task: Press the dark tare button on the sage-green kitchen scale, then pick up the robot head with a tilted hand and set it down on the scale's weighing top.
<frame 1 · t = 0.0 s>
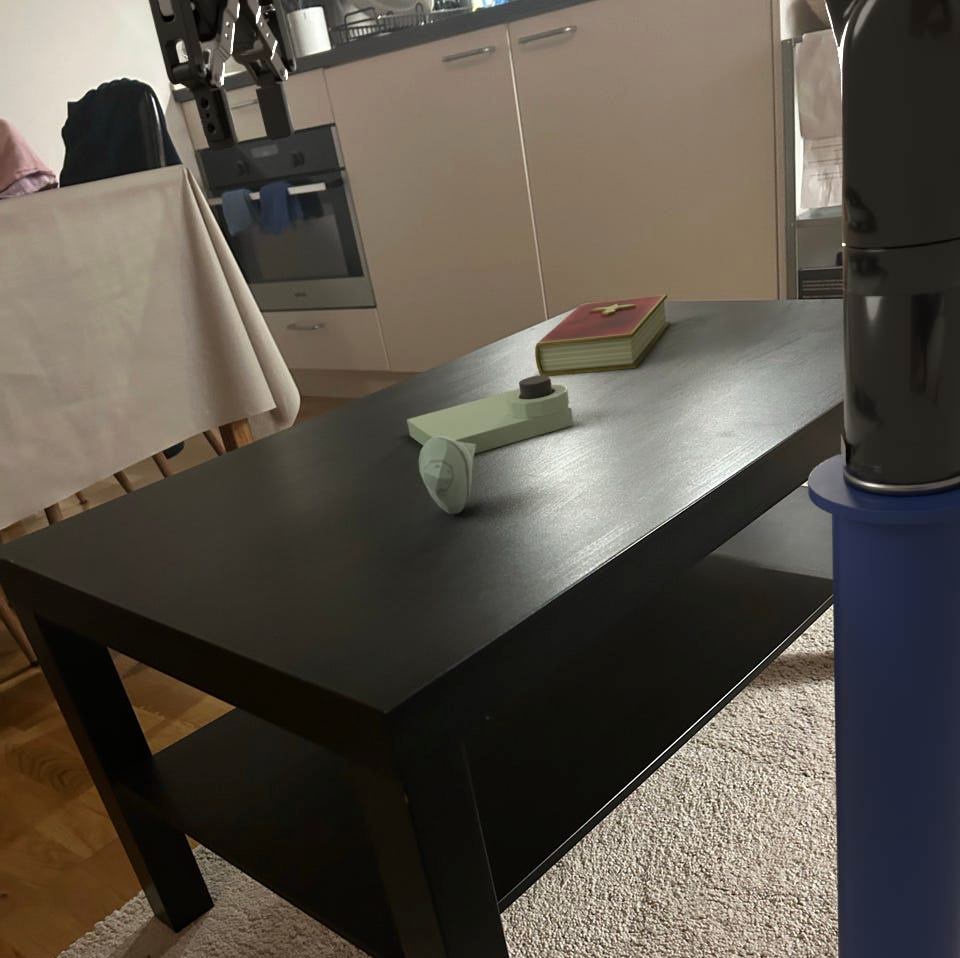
hand: (254, 143, 77), 30 cm above the table, tool pointing down, fingers open, 8 cm apart
tare button: (535, 388, 102), point 4 cm above the table, slide at 0.1 cm
hardcover book: (607, 350, 129), on the table
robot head: (454, 515, 87), on the table
scale: (489, 431, 106), on the table
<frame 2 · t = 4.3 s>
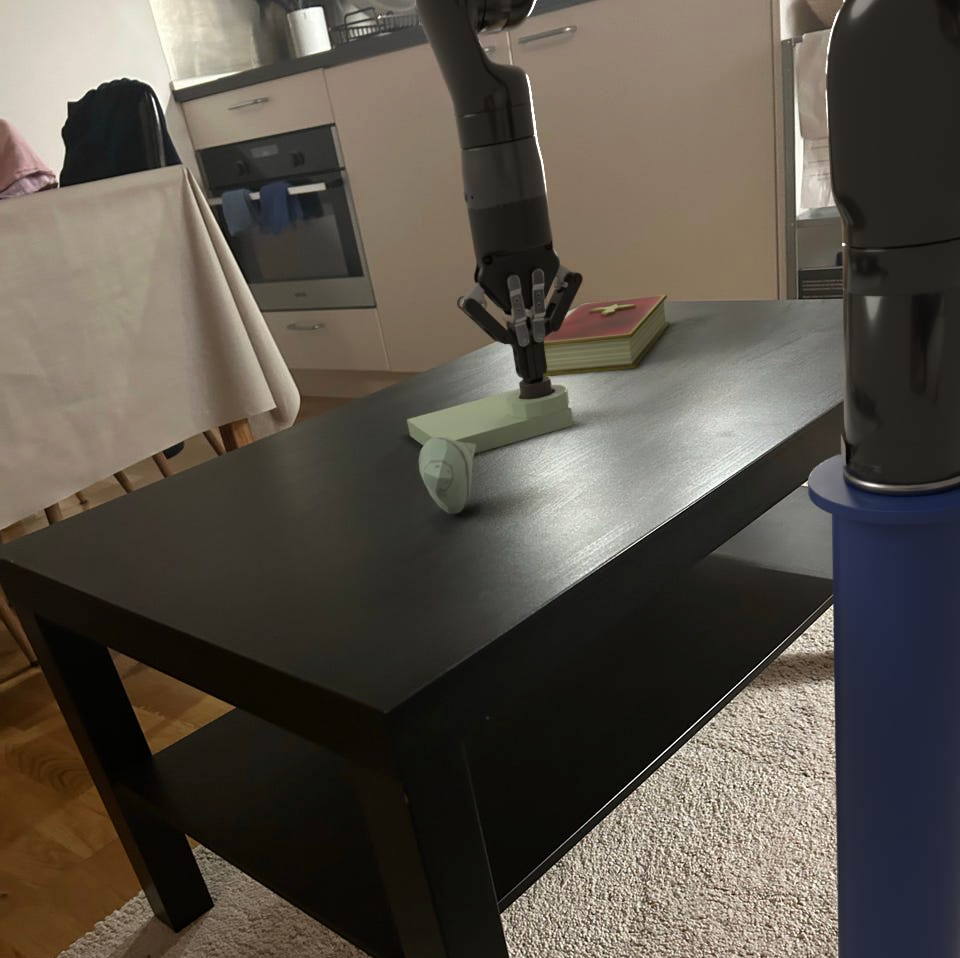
hand: (533, 380, 102), 5 cm above the table, tool pointing down, fingers closed
tare button: (535, 388, 102), point 4 cm above the table, slide at 0.1 cm, touching gripper
everything else where it was.
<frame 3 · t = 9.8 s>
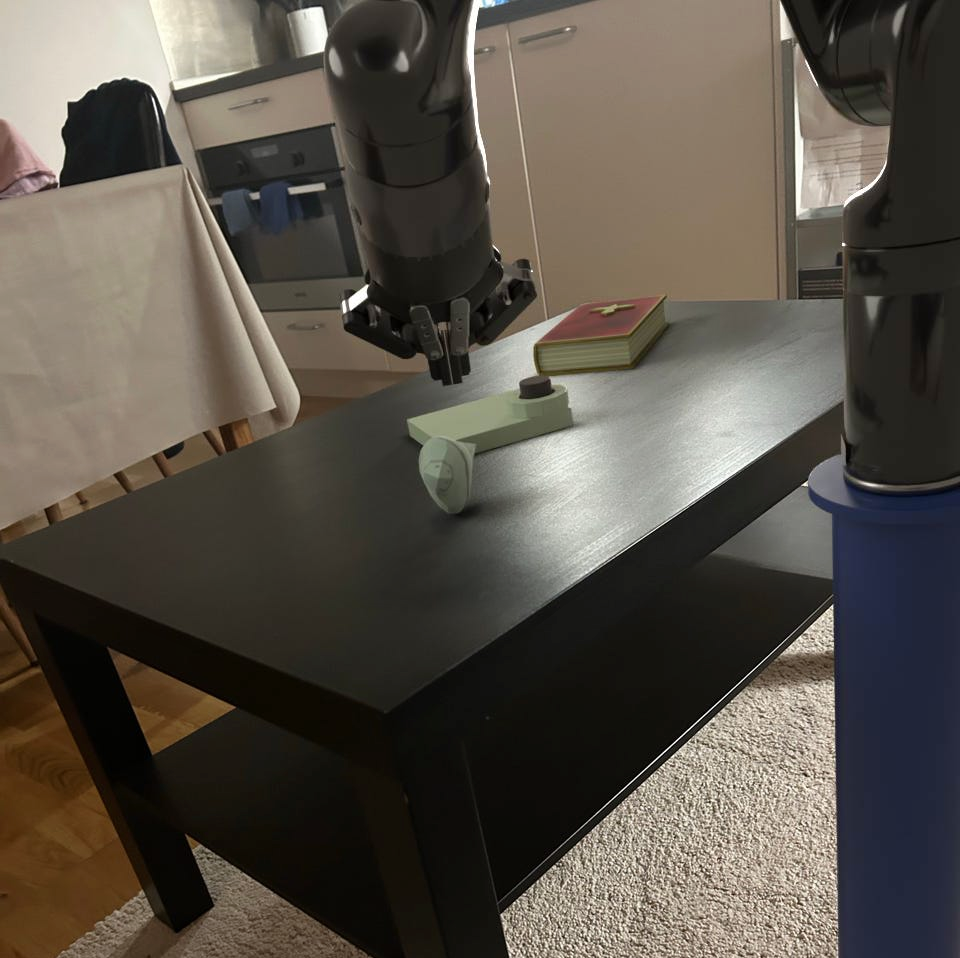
hand: (450, 374, 72), 14 cm above the table, tool tilted 45°, fingers closed
tare button: (535, 388, 102), point 4 cm above the table, slide at 0.1 cm
everything else where it was.
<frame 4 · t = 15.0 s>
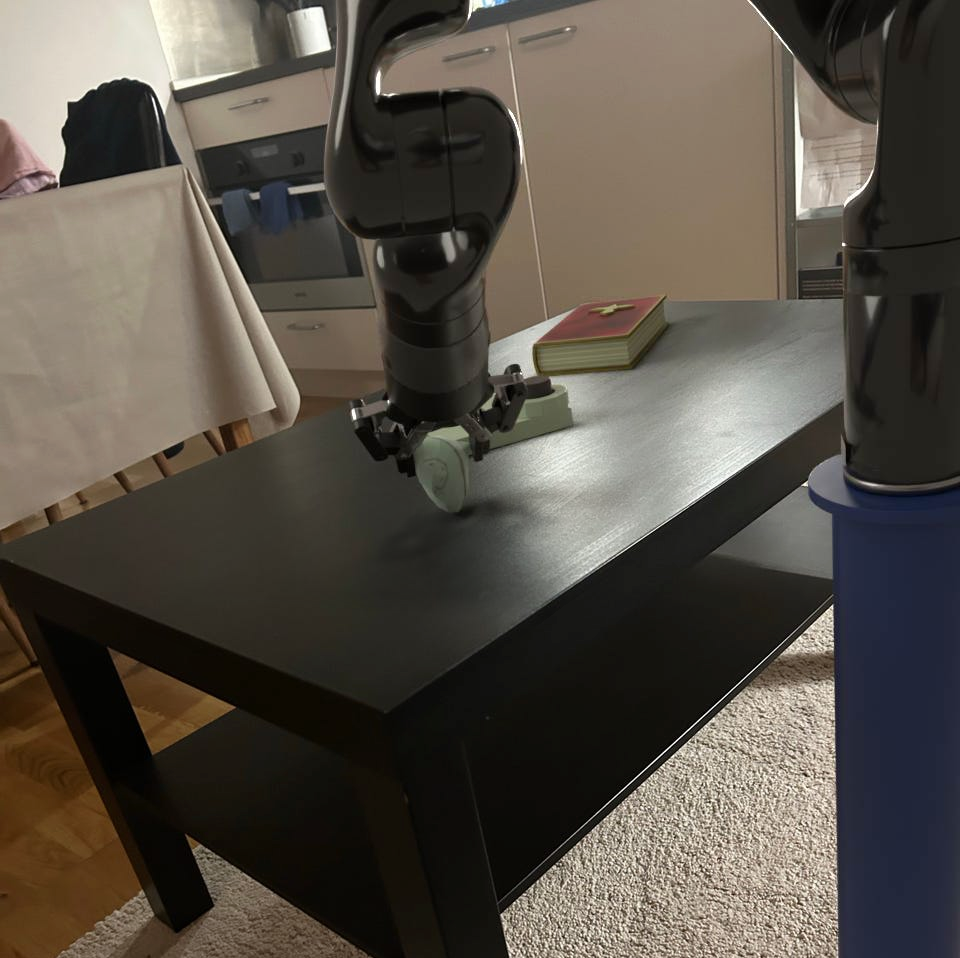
hand: (442, 459, 86), 4 cm above the table, tool tilted 45°, fingers closed on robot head, 5 cm apart
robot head: (454, 514, 87), on the table, touching gripper
everything else where it was.
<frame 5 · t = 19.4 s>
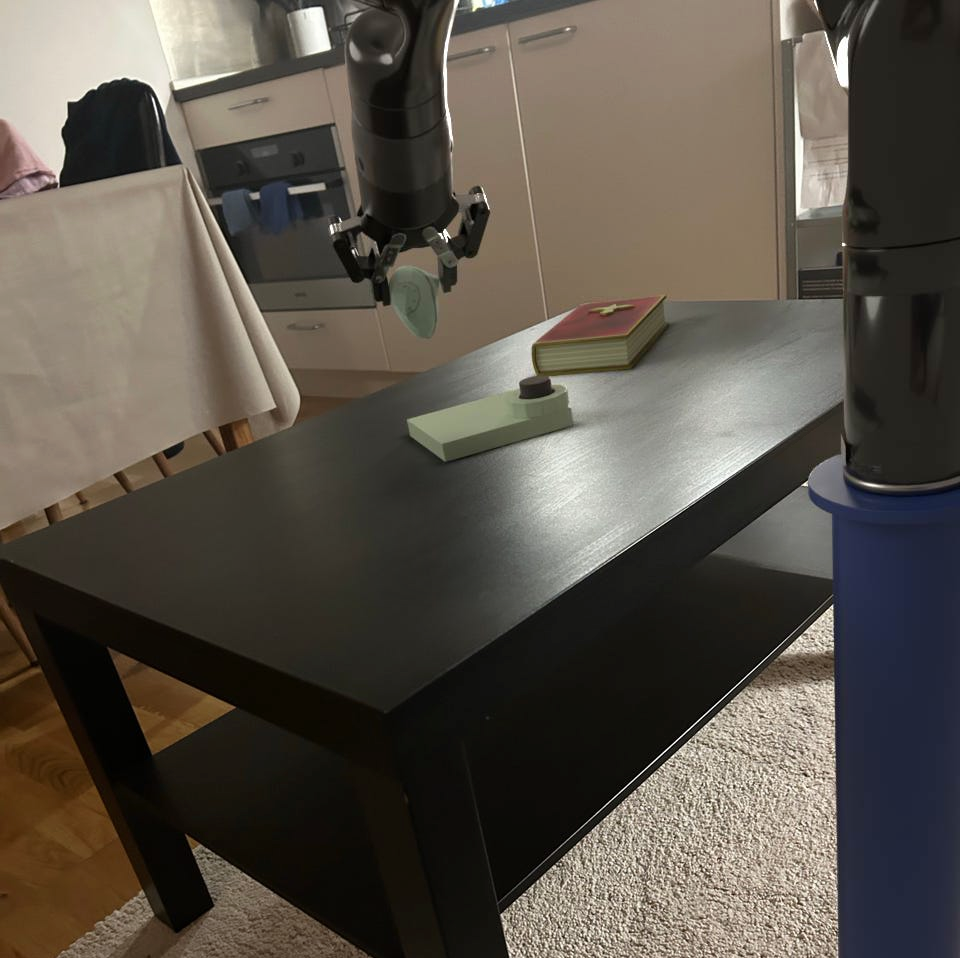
hand: (414, 291, 94), 16 cm above the table, tool tilted 45°, fingers closed on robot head, 5 cm apart
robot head: (426, 342, 94), point 12 cm above the table, touching gripper
everything else where it was.
when the fingers open (6 cm above the table, at t = 23.7 s): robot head stays where it is, resting on scale.
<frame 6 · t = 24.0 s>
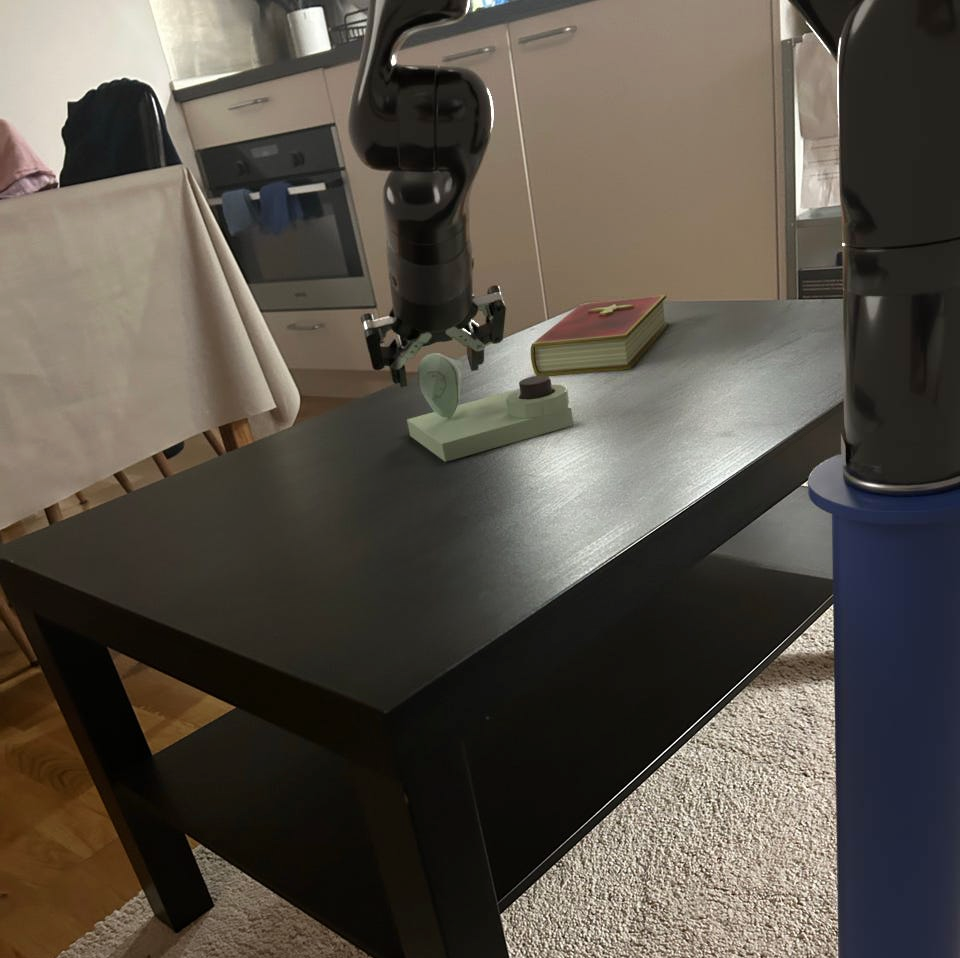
hand: (437, 371, 106), 6 cm above the table, tool tilted 45°, fingers open, 7 cm apart
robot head: (446, 419, 107), point 2 cm above the table, touching scale
everything else where it was.
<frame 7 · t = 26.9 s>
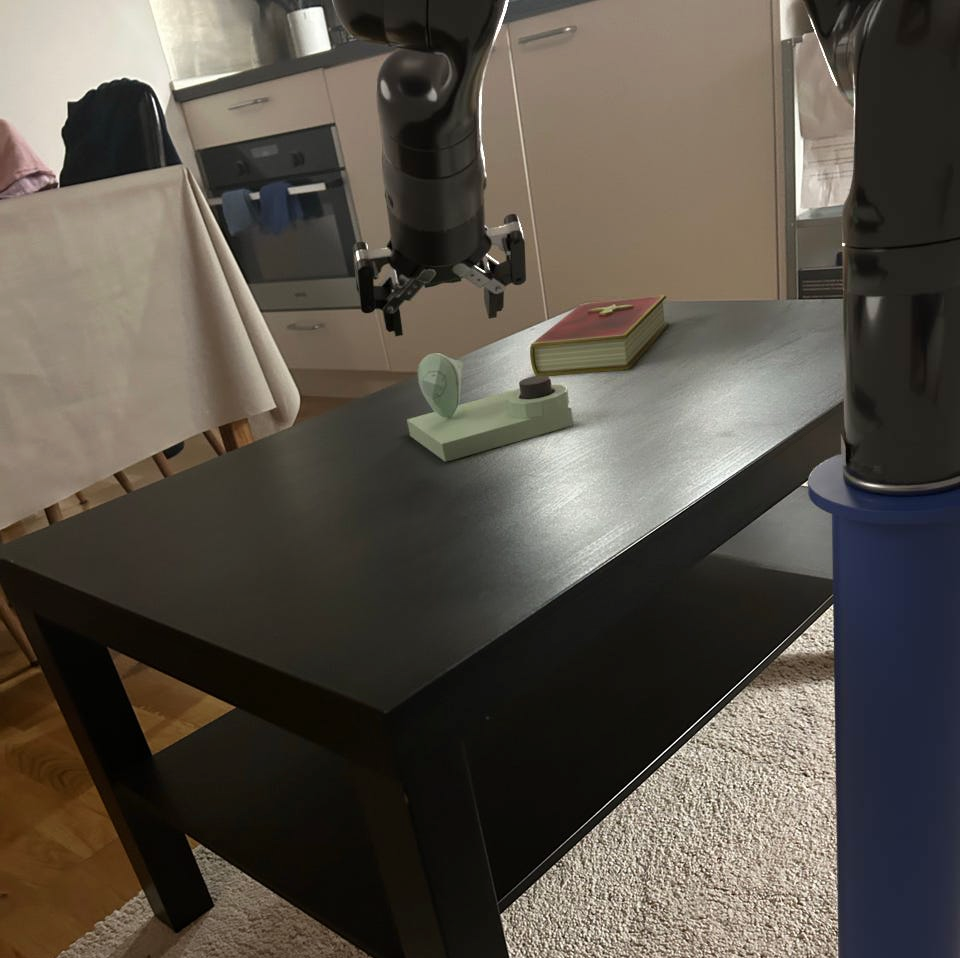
hand: (443, 319, 91), 14 cm above the table, tool tilted 45°, fingers open, 8 cm apart
nothing on the table moved.
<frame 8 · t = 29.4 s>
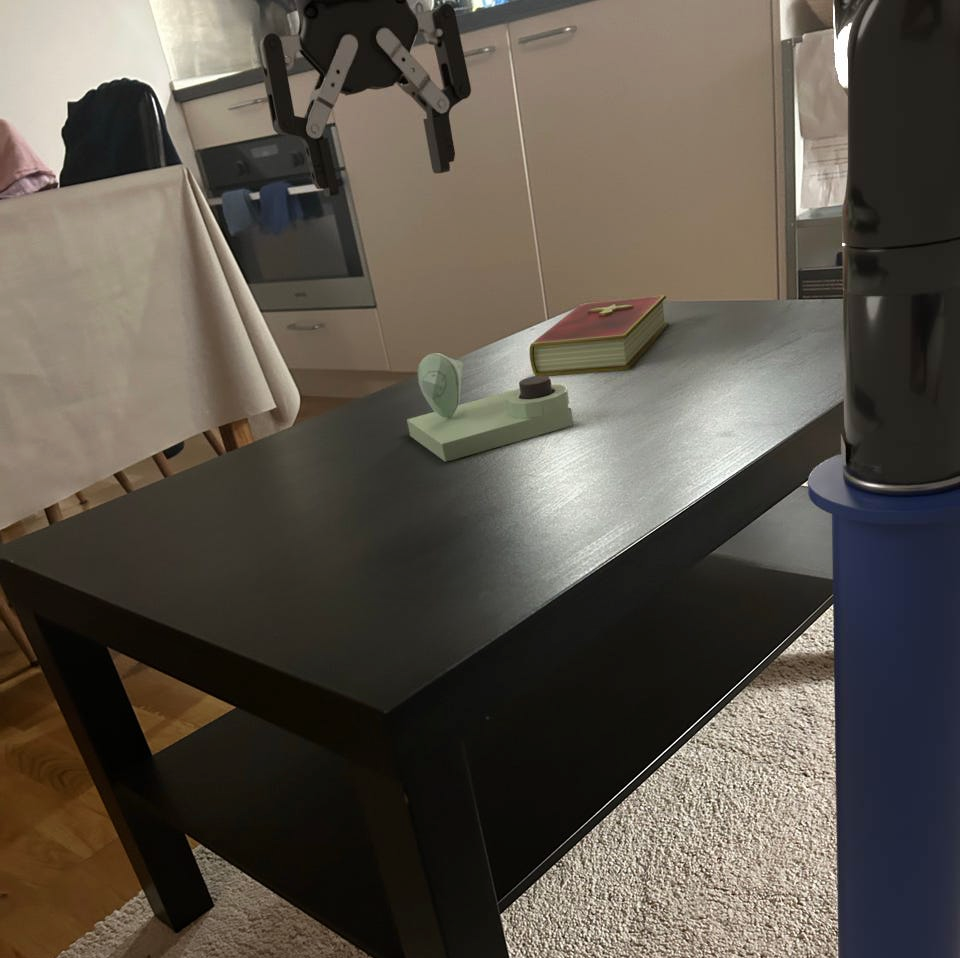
hand: (388, 183, 74), 26 cm above the table, tool pointing down, fingers open, 8 cm apart
nothing on the table moved.
at the end: tare button pushed in 0.9 cm at the most during the clip, back to where it started at the end; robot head touching scale; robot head inside the target area on the scale (4.4 cm from its centre), point 1.7 cm above the scale's base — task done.
